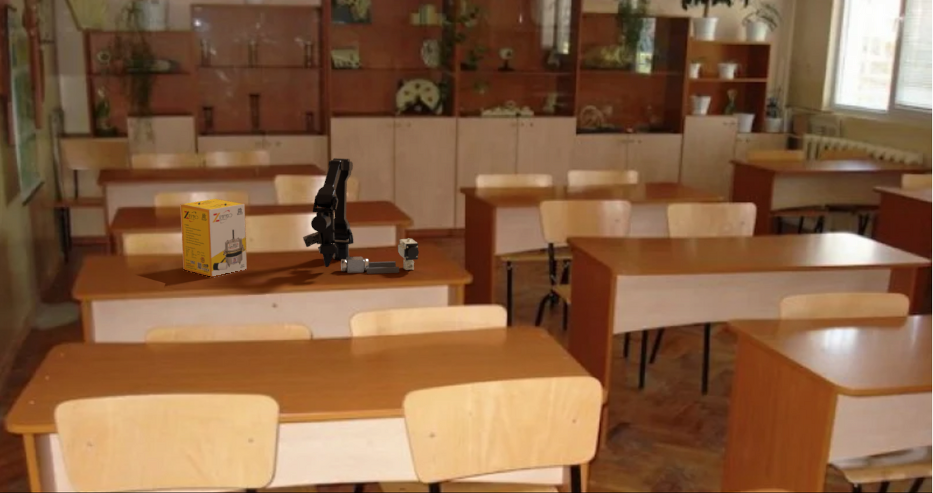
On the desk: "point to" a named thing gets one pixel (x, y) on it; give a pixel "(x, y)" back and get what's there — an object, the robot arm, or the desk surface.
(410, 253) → the pneumatic valve
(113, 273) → the desk surface
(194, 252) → the packaging box
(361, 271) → the coupling
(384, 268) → the guide channel
